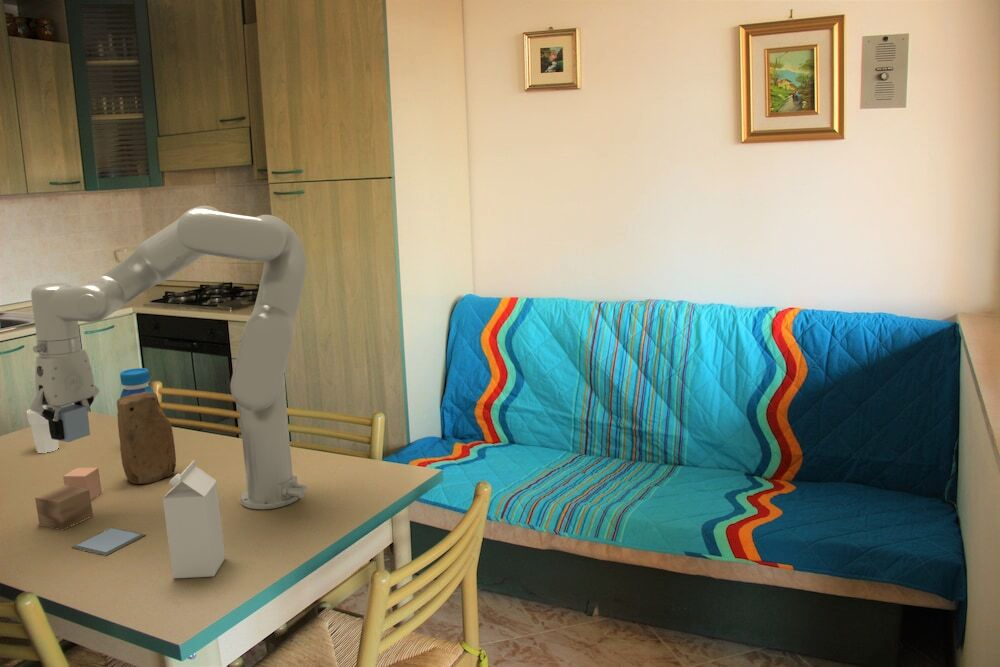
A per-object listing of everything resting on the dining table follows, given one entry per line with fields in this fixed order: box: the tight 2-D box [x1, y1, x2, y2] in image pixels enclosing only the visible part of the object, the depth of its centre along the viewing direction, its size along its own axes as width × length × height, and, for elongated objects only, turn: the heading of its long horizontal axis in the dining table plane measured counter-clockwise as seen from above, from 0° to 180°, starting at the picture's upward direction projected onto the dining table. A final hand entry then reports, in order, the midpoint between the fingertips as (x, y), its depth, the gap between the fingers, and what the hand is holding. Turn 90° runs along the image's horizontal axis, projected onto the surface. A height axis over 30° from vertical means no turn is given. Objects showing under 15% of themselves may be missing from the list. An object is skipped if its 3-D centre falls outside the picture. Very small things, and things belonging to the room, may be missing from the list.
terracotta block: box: [62, 467, 103, 501], centre depth 182 cm, size 5×5×6 cm
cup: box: [26, 405, 60, 454], centre depth 214 cm, size 7×7×11 cm
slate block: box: [51, 403, 91, 443], centre depth 168 cm, size 5×5×6 cm
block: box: [116, 392, 177, 485], centre depth 191 cm, size 11×8×20 cm
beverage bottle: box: [119, 367, 155, 398], centre depth 214 cm, size 8×8×20 cm
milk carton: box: [162, 459, 226, 579], centre depth 146 cm, size 7×7×19 cm
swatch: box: [71, 527, 146, 556], centre depth 160 cm, size 9×9×1 cm
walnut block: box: [34, 485, 94, 530], centre depth 171 cm, size 7×7×6 cm
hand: (70, 433), depth 168 cm, fingers closed on slate block, 5 cm apart
